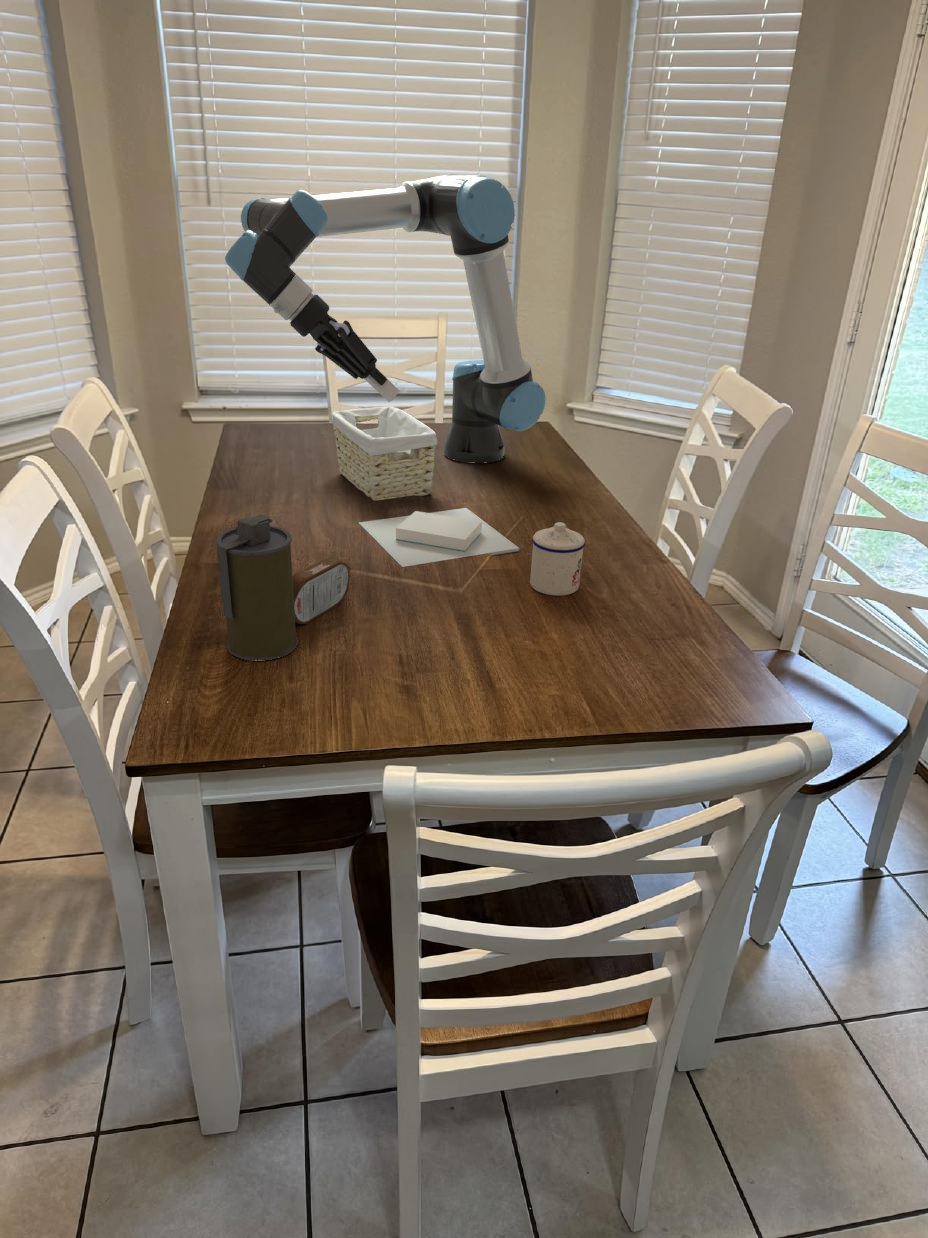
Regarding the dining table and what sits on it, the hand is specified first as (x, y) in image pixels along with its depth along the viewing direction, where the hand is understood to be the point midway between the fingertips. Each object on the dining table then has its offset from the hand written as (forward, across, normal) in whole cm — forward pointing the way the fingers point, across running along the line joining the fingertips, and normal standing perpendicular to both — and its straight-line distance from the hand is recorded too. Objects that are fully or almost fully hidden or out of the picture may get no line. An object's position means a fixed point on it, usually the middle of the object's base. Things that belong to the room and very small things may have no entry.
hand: (394, 396), depth 172 cm
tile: (+17, 0, -19) cm, 25 cm away
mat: (+23, +4, -18) cm, 29 cm away
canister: (+2, +25, -59) cm, 64 cm away
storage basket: (+15, -26, -5) cm, 30 cm away
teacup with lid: (+37, +28, -20) cm, 50 cm away
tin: (+7, +20, -49) cm, 53 cm away
